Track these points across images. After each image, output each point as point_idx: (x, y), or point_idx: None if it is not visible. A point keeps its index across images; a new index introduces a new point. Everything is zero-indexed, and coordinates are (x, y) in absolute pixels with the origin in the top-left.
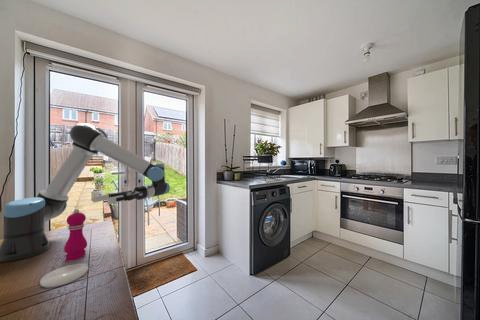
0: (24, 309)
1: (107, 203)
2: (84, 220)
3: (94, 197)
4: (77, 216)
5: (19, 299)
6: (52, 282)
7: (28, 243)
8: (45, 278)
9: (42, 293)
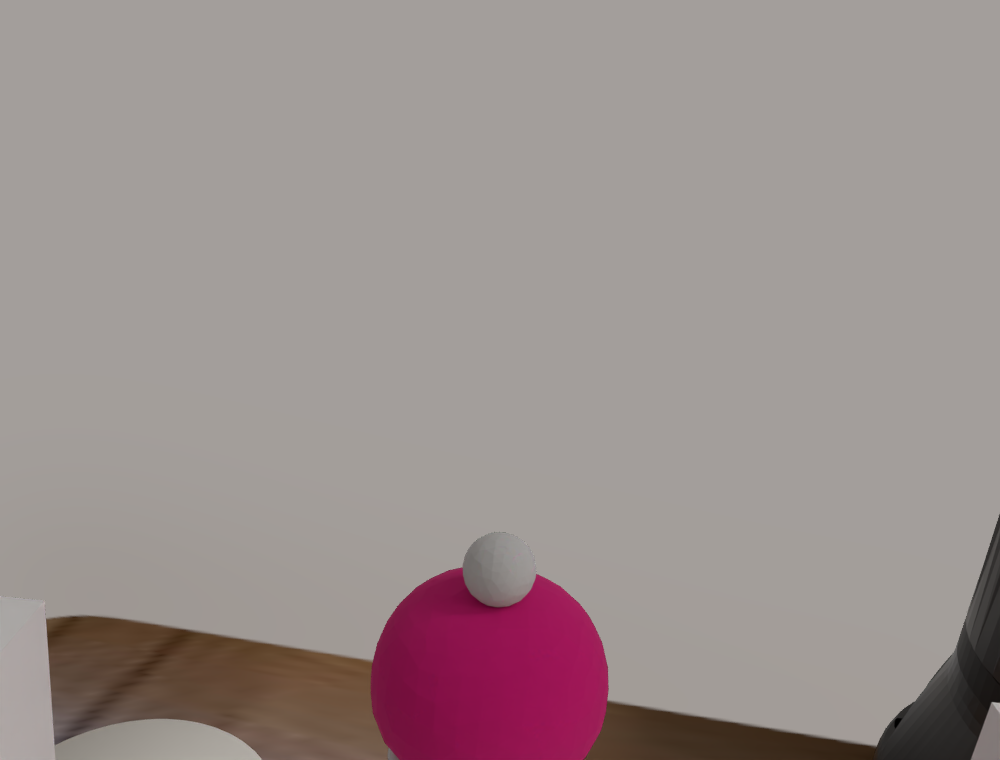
0: None
1: (47, 746)
2: (397, 755)
3: (996, 743)
4: (397, 606)
5: (152, 660)
6: (89, 746)
7: (932, 746)
8: (208, 747)
9: (68, 715)
